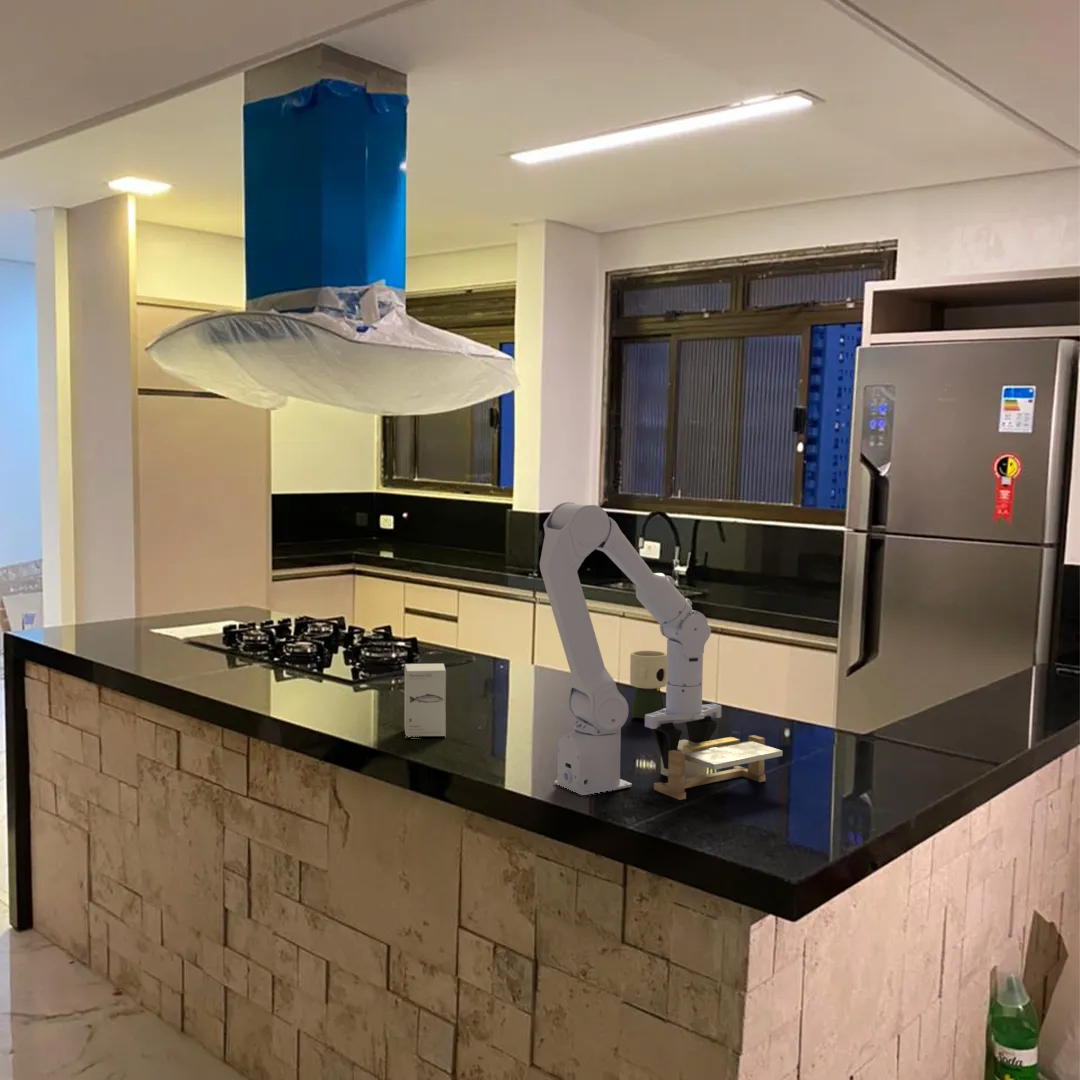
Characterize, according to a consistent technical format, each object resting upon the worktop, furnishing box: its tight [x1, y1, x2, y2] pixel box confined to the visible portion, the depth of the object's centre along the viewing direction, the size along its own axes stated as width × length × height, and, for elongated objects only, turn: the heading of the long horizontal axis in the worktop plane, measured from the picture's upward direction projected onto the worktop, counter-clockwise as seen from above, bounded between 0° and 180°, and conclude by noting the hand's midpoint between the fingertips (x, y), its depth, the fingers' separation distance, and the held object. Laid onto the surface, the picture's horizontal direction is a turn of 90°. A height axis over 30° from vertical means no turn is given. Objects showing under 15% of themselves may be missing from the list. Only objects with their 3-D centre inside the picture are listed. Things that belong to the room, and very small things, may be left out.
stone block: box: [660, 739, 706, 779], centre depth 175 cm, size 5×5×5 cm
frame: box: [653, 734, 766, 801], centre depth 169 cm, size 18×6×7 cm, turn 124°
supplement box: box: [403, 663, 447, 737], centre depth 199 cm, size 7×7×13 cm
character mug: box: [629, 650, 667, 721], centre depth 212 cm, size 11×7×13 cm, turn 160°
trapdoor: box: [683, 736, 783, 771], centre depth 166 cm, size 14×9×2 cm, turn 124°
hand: (682, 766), depth 175 cm, fingers closed on stone block, 5 cm apart
